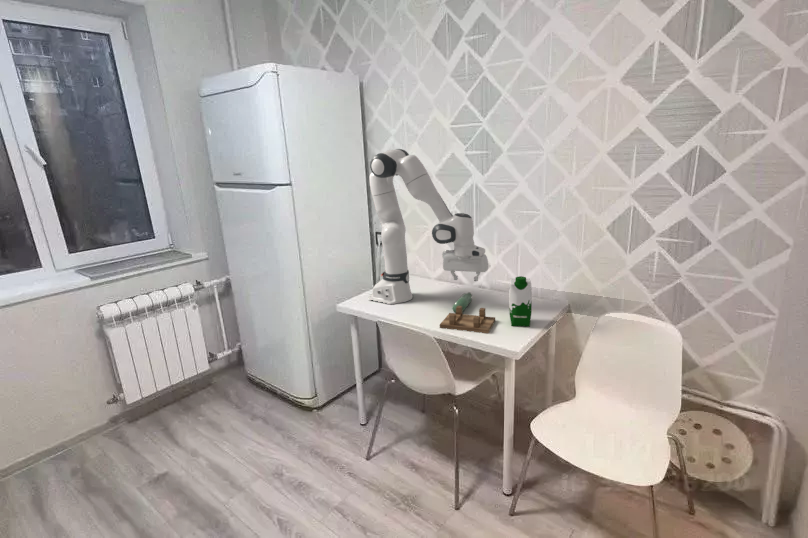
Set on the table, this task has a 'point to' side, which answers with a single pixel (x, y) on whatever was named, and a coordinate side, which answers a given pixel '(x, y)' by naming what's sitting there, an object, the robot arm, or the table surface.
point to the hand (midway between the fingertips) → (465, 280)
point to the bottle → (463, 301)
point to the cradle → (468, 321)
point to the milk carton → (520, 301)
